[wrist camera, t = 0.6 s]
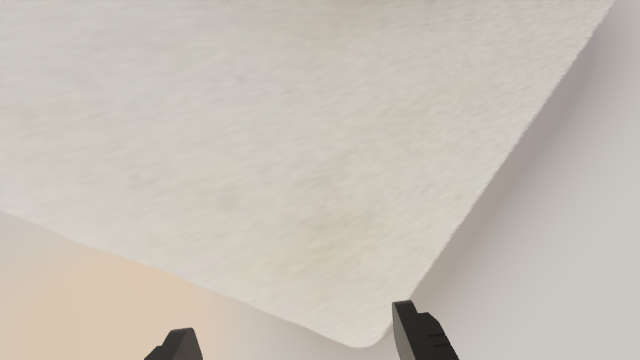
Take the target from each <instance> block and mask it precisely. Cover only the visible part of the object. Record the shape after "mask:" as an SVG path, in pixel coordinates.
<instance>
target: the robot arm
mask: <svg viewBox="0 0 640 360" xmlns="http://www.w3.org/2000/svg"><path fill="white" fill-rule="evenodd" d="M392 313H393V327H394V337H395V342H396V347H397V350H398V354H399V356H400V359H401V360H459V358H458V356H457V355H456V353H455V351H454V349H453V347H452V346H451V344H450V342H449V340H448V338H447V336H445V333H444V331H443V329H442V327H441V325H440V323H439V322H438V321H437V320H436V319H435V318H434V317H433V316H431V315H430V314H429V313H428V312H427V313H417V310H416V308H415V306H414V304H413V302H412V301H411V300H406V301H399V302H392ZM144 360H203V357H202V354H201V350H200V348H199V344H198V341H197V338H196V335H195V332H194V330H193V328H183V329H175V330H172V331H170V332H169V334H168V335H167V337H166V339H165V341H164V342H163V344H162V346H157V347H156V348H155V349H154V350H153V351H152V352H151V353H150V354H149V355H148V356H147V357H146V358H145V359H144Z"/></svg>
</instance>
